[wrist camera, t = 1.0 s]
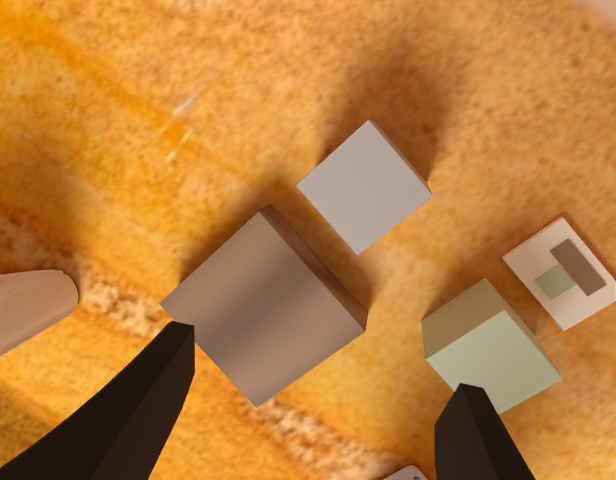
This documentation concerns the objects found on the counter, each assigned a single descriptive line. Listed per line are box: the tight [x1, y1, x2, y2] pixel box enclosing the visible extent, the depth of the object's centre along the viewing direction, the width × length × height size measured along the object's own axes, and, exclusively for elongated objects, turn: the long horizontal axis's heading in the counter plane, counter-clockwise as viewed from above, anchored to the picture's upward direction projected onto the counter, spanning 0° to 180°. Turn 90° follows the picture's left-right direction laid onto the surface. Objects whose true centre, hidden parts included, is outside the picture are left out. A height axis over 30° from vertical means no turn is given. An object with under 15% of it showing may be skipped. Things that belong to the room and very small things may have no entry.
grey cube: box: [296, 120, 433, 256], centre depth 24 cm, size 5×5×5 cm
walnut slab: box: [159, 204, 368, 408], centre depth 29 cm, size 10×10×3 cm
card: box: [502, 217, 616, 331], centre depth 25 cm, size 6×4×1 cm, turn 43°
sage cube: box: [421, 277, 563, 415], centre depth 25 cm, size 5×5×5 cm
